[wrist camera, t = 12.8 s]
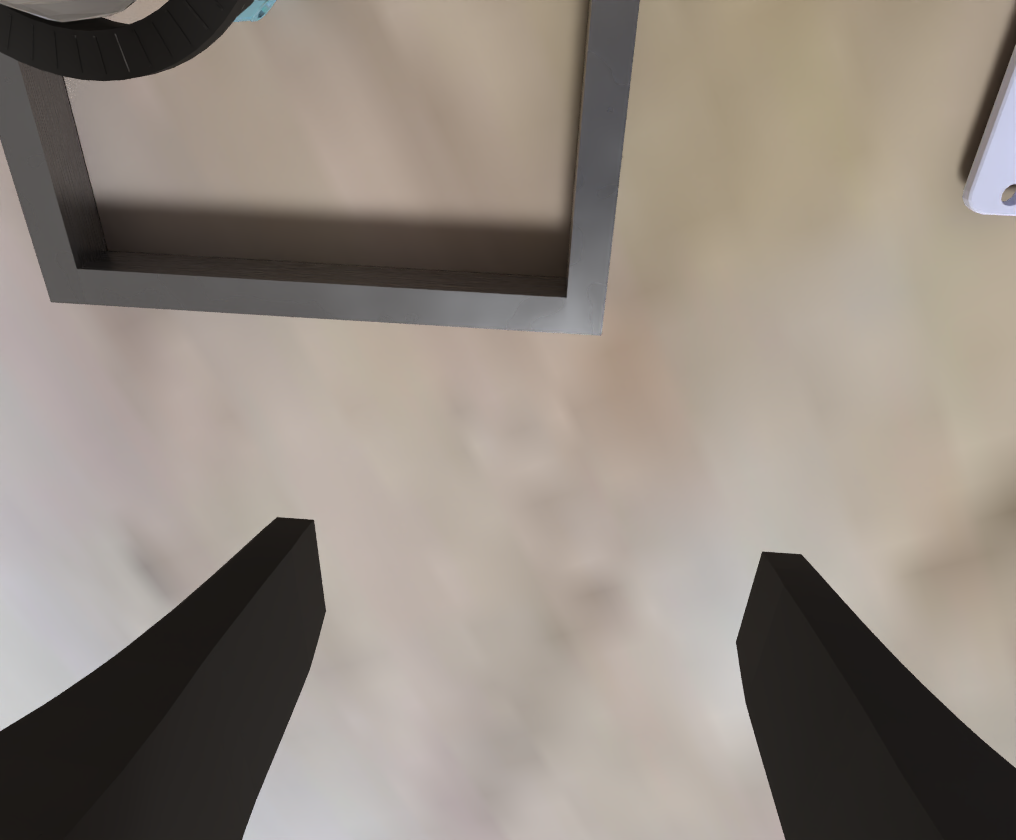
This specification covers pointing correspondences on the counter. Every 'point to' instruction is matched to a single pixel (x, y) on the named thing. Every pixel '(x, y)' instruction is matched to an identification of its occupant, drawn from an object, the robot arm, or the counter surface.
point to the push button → (115, 34)
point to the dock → (311, 286)
